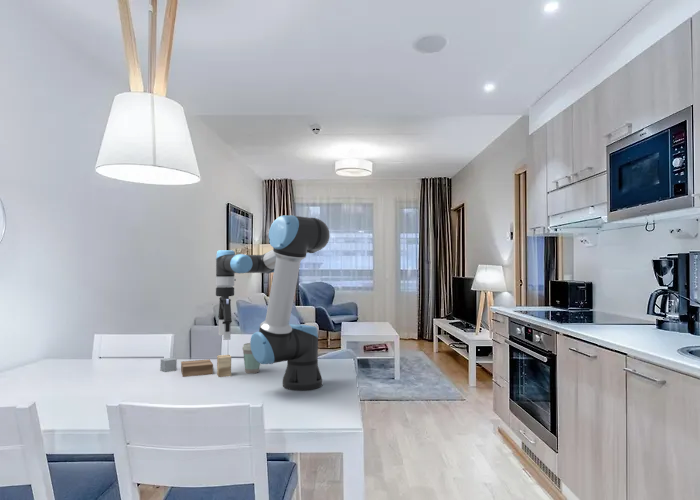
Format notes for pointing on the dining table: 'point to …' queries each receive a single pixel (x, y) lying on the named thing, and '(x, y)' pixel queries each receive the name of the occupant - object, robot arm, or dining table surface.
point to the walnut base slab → (196, 367)
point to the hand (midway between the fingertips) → (224, 337)
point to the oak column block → (223, 365)
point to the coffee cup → (250, 360)
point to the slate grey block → (168, 364)
